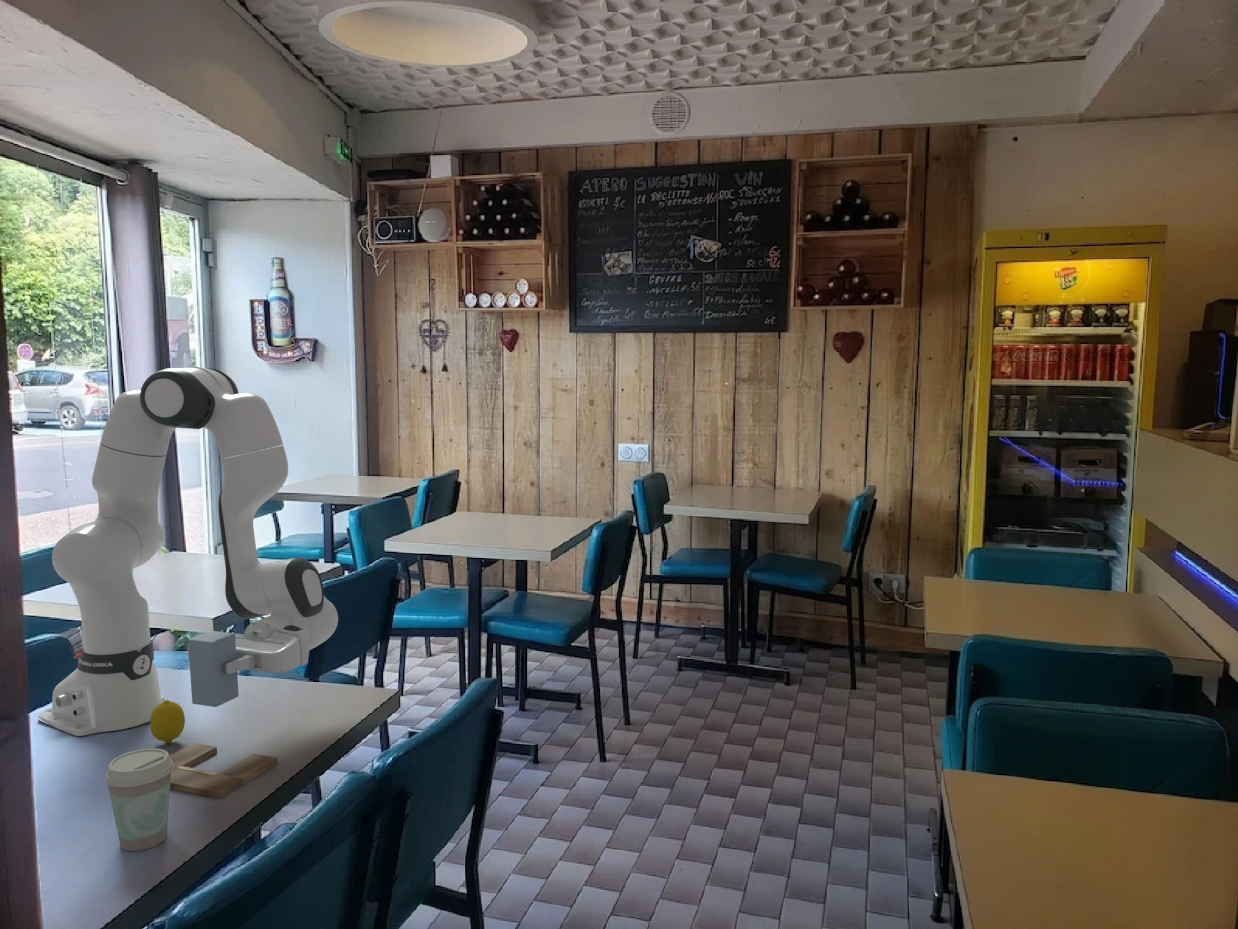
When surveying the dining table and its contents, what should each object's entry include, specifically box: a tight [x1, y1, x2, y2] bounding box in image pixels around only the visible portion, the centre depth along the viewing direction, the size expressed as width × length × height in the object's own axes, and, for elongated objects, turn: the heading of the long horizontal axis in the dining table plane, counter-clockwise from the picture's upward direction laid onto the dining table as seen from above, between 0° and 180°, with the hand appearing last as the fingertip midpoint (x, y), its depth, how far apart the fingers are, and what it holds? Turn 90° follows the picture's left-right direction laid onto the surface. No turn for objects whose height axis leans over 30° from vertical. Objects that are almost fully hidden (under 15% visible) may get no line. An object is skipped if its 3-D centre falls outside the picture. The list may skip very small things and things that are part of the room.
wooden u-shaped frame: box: [169, 742, 279, 800], centre depth 143 cm, size 18×13×1 cm
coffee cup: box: [104, 748, 174, 852], centre depth 121 cm, size 8×9×12 cm
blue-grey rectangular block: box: [187, 630, 240, 708], centre depth 144 cm, size 5×5×11 cm
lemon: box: [149, 699, 186, 744], centre depth 154 cm, size 6×6×8 cm
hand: (209, 667), depth 143 cm, fingers closed on blue-grey rectangular block, 5 cm apart
